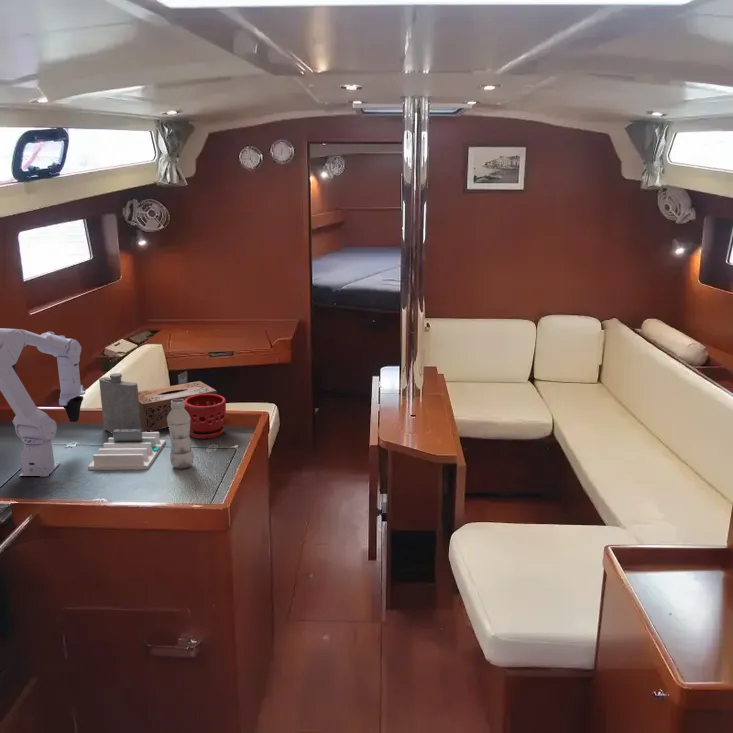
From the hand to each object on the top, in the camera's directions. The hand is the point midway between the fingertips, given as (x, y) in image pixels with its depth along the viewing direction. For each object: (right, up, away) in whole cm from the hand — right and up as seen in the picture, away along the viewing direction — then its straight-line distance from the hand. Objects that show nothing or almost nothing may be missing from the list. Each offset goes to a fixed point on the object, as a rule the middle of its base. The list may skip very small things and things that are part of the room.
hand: (74, 421), depth 225 cm
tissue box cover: (+22, -2, +31) cm, 38 cm away
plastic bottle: (+35, -13, -10) cm, 39 cm away
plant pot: (+37, -6, +16) cm, 40 cm away
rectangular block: (+17, -8, 0) cm, 19 cm away
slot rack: (+17, -10, -2) cm, 20 cm away
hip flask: (+9, -5, +17) cm, 20 cm away
